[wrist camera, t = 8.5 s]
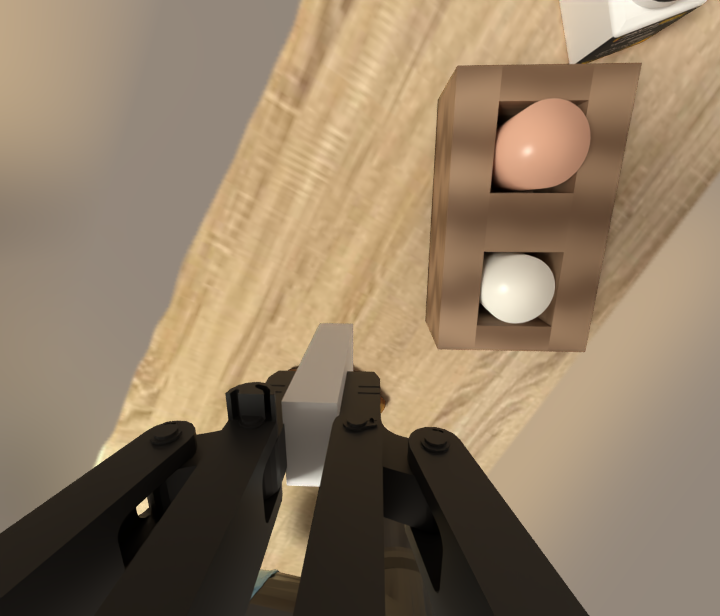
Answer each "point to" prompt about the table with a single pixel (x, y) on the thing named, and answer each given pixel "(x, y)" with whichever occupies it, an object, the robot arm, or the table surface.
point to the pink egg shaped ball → (540, 146)
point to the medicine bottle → (615, 24)
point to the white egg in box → (515, 286)
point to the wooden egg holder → (522, 203)
